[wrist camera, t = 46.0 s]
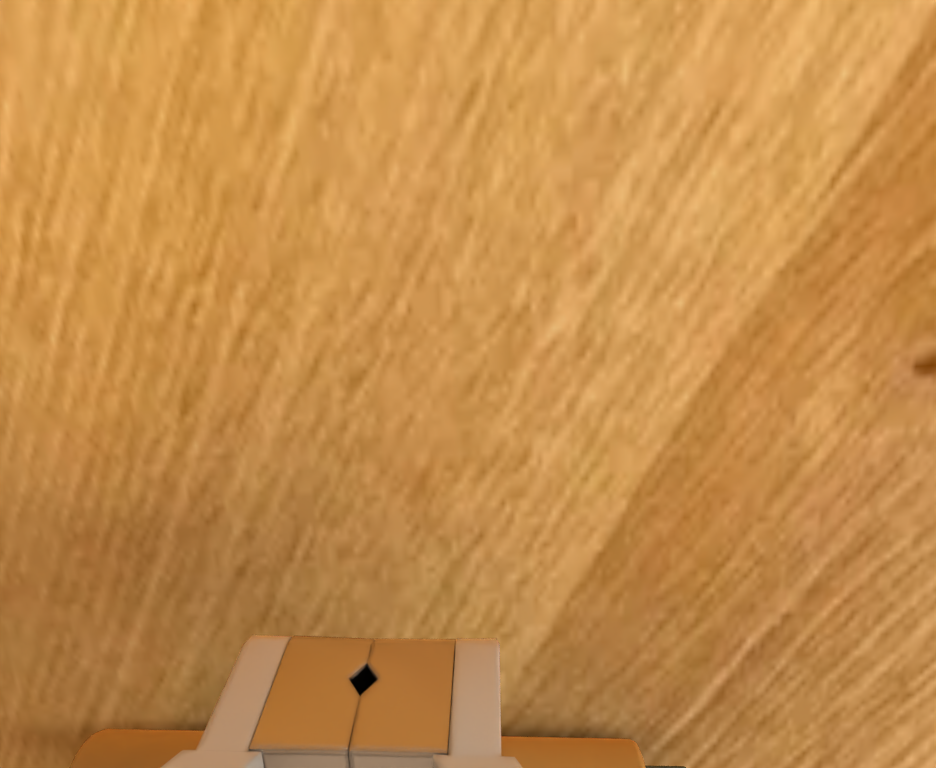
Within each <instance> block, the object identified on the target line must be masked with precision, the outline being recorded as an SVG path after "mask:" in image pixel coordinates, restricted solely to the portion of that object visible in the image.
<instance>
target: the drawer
mask: <svg viewBox="0 0 936 768" xmlns="http://www.w3.org/2000/svg"><path fill="white" fill-rule="evenodd" d="M203 733H204V731H194V730H142V729H104V730H101V731H99V732H97V733H95V734H93V735H92V736H91V737H89V738H88V739H87V740H86V741H85V743H84V744H83V745H82V746H81V748H80V749H79V751H78V752H77V754H76V756H75V758H74V759H73V761H72V763H71V766H70V768H160V767H162V766H163V765H164V764H165V763H167V762H168V761H169V760H170V759H172V758H173V757H174V756H175V755H177V754H178V753H179V752H180V751H182V750H196V748H197V746H198V744H199V742H200V739H201V737H202V735H203ZM501 756H506V757H515V758H516V759H517V761H518V762H519V763H520V765H521V766H522V767H523V768H686V767H684V766H645V763H644V760H643V757H642V754H641V752H640V749H639V747H638V745H637V743H636V742H635V741H632V740H630V739H613V738H561V737H508V736H501Z"/></svg>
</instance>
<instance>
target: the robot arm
mask: <svg viewBox="0 0 936 768" xmlns="http://www.w3.org/2000/svg"><path fill="white" fill-rule="evenodd" d="M160 768H523V767H522V766H521V765H520V763H519V762H518V761H517V759H516V758H515V757H506V756H501V704H500V645H499V642H498V640H497V639H457V641H456V639H366V638H341V637H317V636H293V637H290V636H269V635H252V636H251V637H250V638H249V639H248V640H247V641H246V642H245V643H244V644H243V646H242V649H241V651H240V653H239V655H238V657H237V660H236V662H235V664H234V666H233V668H232V671H231V673H230V675H229V677H228V680H227V682H226V684H225V686H224V688H223V691H222V693H221V695H220V697H219V699H218V702H217V704H216V706H215V708H214V711H213V713H212V715H211V717H210V719H209V722H208V724H207V726H206V728H205V731H204V733H203V735H202V737H201V739H200V742H199V744H198V746H197V748H196V750H182V751H180V752H179V753H178V754H177V755H175V756H174V757H173V758H172V759H170V760H169V761H168V762H167V763H165V764H164V765H163V766H162V767H160Z"/></svg>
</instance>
